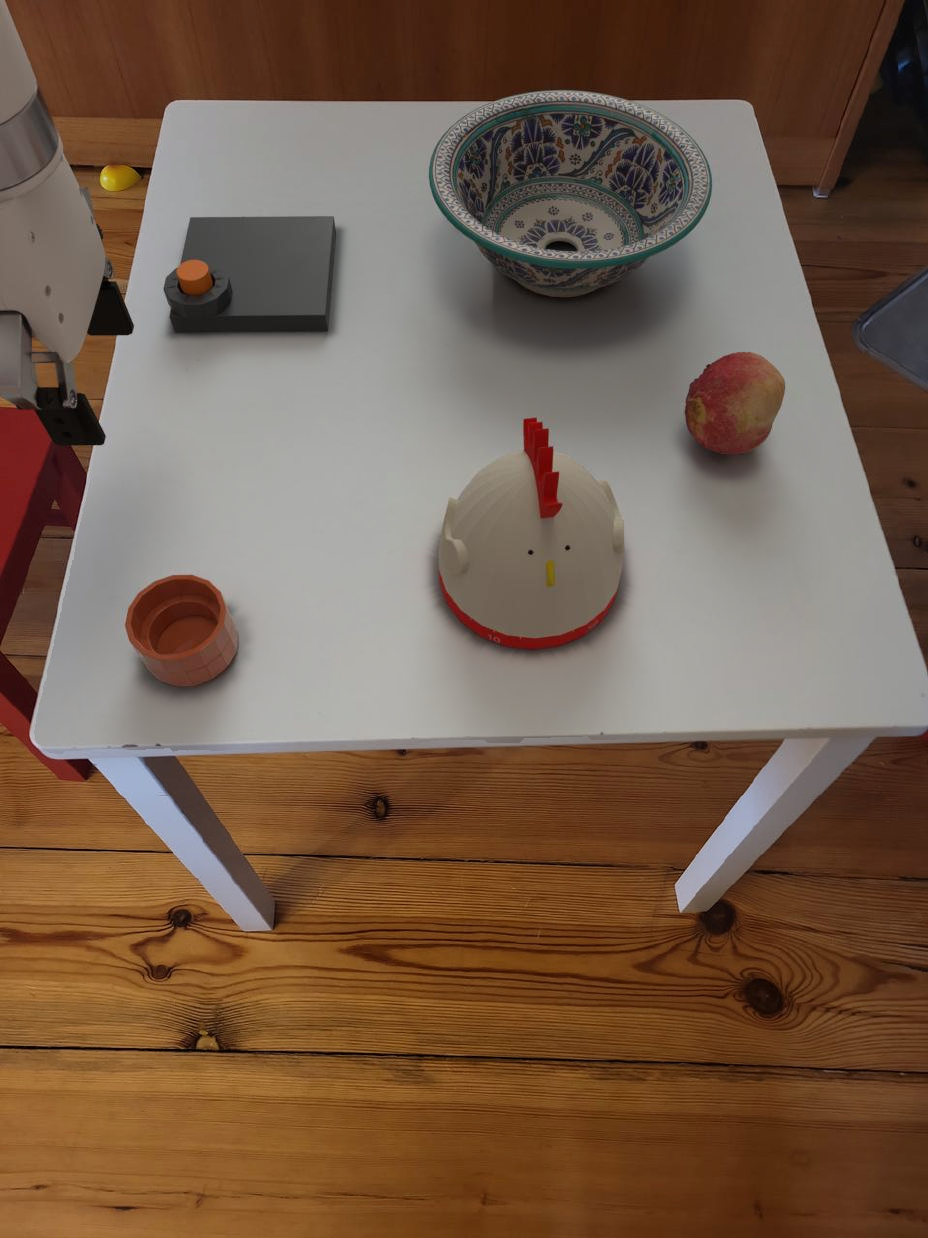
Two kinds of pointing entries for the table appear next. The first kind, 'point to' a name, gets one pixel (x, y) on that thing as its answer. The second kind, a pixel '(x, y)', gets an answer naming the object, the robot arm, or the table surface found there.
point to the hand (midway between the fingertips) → (97, 384)
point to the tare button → (194, 277)
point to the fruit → (734, 403)
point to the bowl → (569, 186)
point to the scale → (257, 275)
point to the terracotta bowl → (182, 630)
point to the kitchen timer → (532, 548)
